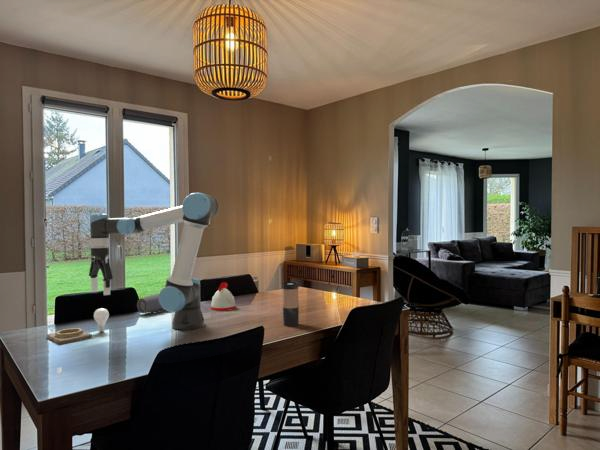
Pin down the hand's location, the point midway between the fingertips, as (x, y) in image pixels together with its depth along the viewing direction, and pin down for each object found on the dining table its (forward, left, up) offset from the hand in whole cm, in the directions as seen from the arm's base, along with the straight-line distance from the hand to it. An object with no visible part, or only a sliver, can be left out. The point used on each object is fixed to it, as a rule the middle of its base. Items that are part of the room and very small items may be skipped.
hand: (100, 293), depth 196 cm
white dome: (-2, -68, -18) cm, 70 cm away
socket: (+1, +13, -18) cm, 22 cm away
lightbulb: (0, 0, -18) cm, 18 cm away
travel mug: (-59, -65, -18) cm, 90 cm away
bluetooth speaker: (+20, -40, -18) cm, 48 cm away
